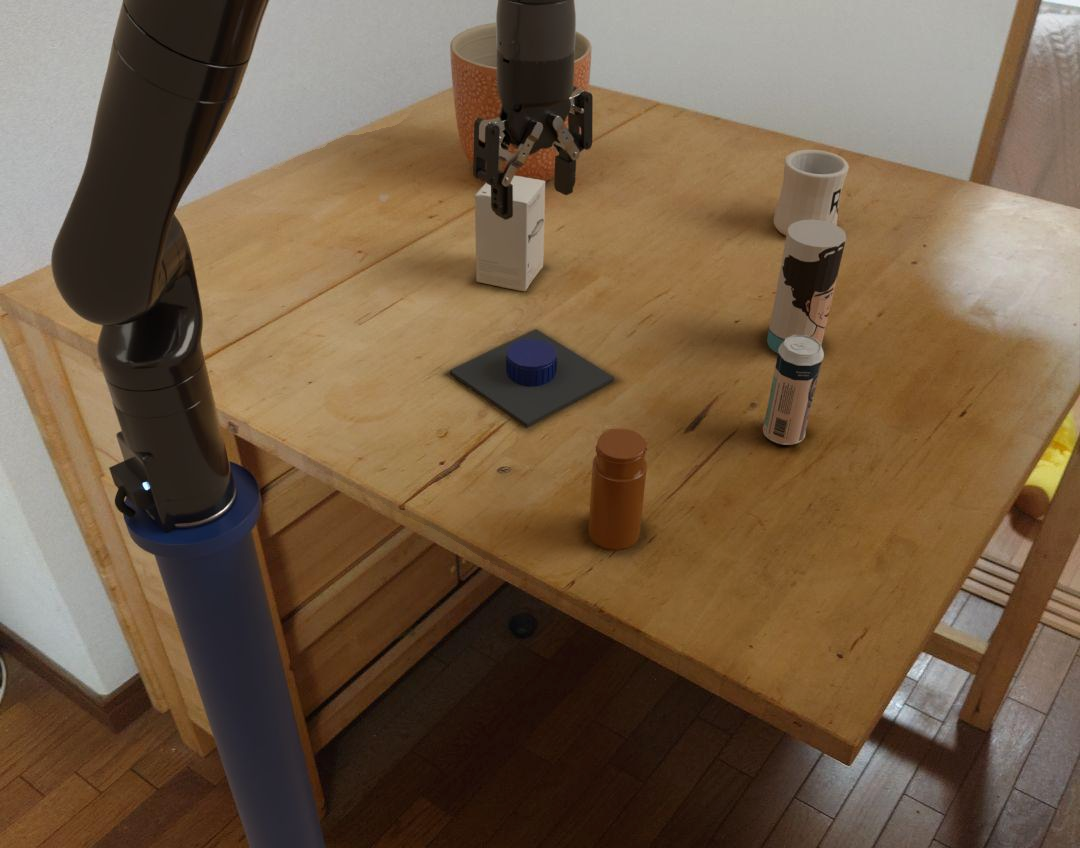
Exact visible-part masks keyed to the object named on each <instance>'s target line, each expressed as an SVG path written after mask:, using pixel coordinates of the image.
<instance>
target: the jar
mask: <svg viewBox="0 0 1080 848" xmlns="http://www.w3.org/2000/svg"><path fill="white" fill-rule="evenodd" d="M595 445H596V446H595V453H596V455H595V456H594V457H593V460H592V470H591V483H590V484H591V485H590V500H589V512H588V513H589V515H588V530H587V532H588V536H589V538H590V539H591V541H592V542H593V543H594V544H595V545H597V546H599V548H603V549H606V550H612V551H620V550H625V549H628V548H630V547H632V546H634V545H635V544H636V543H637V542H638V540H639V538H640V535H641V534H640V533H641V526H642V514H643V505H644V498H645V489H646V481H647V480H646V479H647V472H648V471H647V470H648V463H647V461H646V454H647V450H648V443H647V441H646V439H645V437H643V435H642V434H640V433H638V432H637V431H634V430H632V429H628V428H612V429H608V430H606V431H603V433H601V434H600V435H599V436H598V438H597V442H596V444H595Z"/></svg>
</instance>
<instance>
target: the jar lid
mask: <svg viewBox="0 0 1080 848" xmlns="http://www.w3.org/2000/svg"><path fill="white" fill-rule="evenodd" d="M556 370H557V357H556V350H555V348H554V347H553V346H552V345H551V344H549V343H547V342H545V341H542V340H536V339H526V340H521V341H518V342H515V343H513V344H512V345H511V346H510V347H509V348H508V350H507V356H506V371H507V375H508V377H509V378H510V379H511V380H512V381H513V382H515V383H517V384H520V385H523V386H540V385H544V384H546V383H548V382H550V381H551V380H552V379H553V378H554V377H555V375H556Z"/></svg>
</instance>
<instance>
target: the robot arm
mask: <svg viewBox="0 0 1080 848" xmlns="http://www.w3.org/2000/svg"><path fill="white" fill-rule="evenodd" d="M269 3H270V0H122V2H121V5H120V11H119V14H118V17H117V18H118V19H117V23H116V26H115V30H114V34H113V38H112V43H111V47H110V53H109V57H108V58H109V59H108V64H107V68H106V72H105V77H104V80H103V85H102V88H101V92H100V96H99V100H98V105H97V111H96V113H95V114H96V115H95V119H94V124H93V129H92V134H91V140H90V144H89V145H90V146H89V150H88V154H87V159H86V161H85V165H84V169H83V171H82V174H81V177H80V180H79V182H78V186H77V188H76V191H75V193H74V196H73V199H72V201H71V203H70V205H69V208H68V210H67V213H66V216H65V218H64V220H63V222H62V225H61V227H60V228H59V232H58V234H57V235H56V238H55V241H54V243H53V246H52V251H51V259H50V261H51V263H50V264H51V266H50V267H51V272H52V273H51V274H52V277H53V281H54V284H55V286H56V288H57V291H58V292H59V294H60V296H61V298H62V300H63V301H64V302H65V304H66V305H67V306H68V307H69V308H70V309H71V310H72V311H73V312H74V313H75V314H76V315H77V316H79V317H80V318H81V319H83V320H84V321H87V322H88V323H89V322H90V323H92V324H93V325H94V324H95V325H97V326H101V329H100V333H99V336H98V340H97V345H96V354H97V358H98V362H99V365H100V368H101V371H102V374H103V378H104V381H105V385H106V387H107V390H108V393H109V397H110V399H111V403H112V405H113V409H114V412H115V416H116V418H117V421H118V424H119V427H120V430H119V431H118V432H117V433H116V434H115V437H116V439H117V443H118V446H119V449H120V452H121V455H122V458H123V461H121V462H119V463H117V464H113V465H112V466H109V467H108V469H109V473H110V475H111V478H112V481H113V484H114V486H115V487H116V488H117V491H116V493H115V496H114V504H115V508H116V509H117V510H118V511H119V512H120V513H121V514H122V515H123V514H125V515H126V516H128V517H133V516H134V515H135V510H134V509H132V508H131V507H129V506H127V505H126V504H125V499H126V497H127V498H128V499H129V501H130V502H131V503H132V504H133V505H134V506H135V507H136V508H137V509H141V508H142V509H143V510H144V511H145V512H146V513H147V514H148V516H149V517H150V519H151V520H152V521H154V522H155V523H156V524H157V525H158V526H159V527H160V528H161V529H162V530H163V531H164V533H169V532H171V531H173V530H176V529H192V528H197V527H201V526H205V525H207V524H210V523H212V522H214V521H216V520H218V519H220V518H221V517H223V516H224V515H225V514H226V513H228V512H229V511H230V509H231V508H232V507H233V505H234V504H235V501H236V499H237V489H236V485H235V482H234V479H233V474H232V471H231V468H230V464H229V461H230V460H229V455H228V451H227V448H226V443H225V439H224V435H223V430H222V427H221V422H220V418H219V414H218V409H217V406H216V401H215V397H214V393H213V388H212V384H211V381H210V377H209V372H208V368H207V363H206V360H205V355H204V352H203V351H204V350H203V346H202V336H203V328H204V319H203V317H204V316H203V309H202V302H201V297H200V292H199V287H198V286H199V285H198V281H197V276H196V270H195V265H194V260H193V255H192V251H191V247H190V243H189V240H188V238H187V235H186V232H185V230H184V228H183V225H182V224H181V222H180V221H179V219H178V218H177V217H178V216H176V214H175V213H176V210H177V209H178V206H179V203H180V202H181V199H182V198H183V196H184V194H185V192H186V191H187V189H188V187H189V185H190V184H191V182H192V181H193V179H194V177H195V175H196V174H197V172H198V171H199V169H200V167H201V166H202V164H203V163H204V161H205V159H206V157H207V156H208V154H209V152H210V151H211V149H212V147H213V146H214V143H215V142H216V140H217V138H218V136H219V134H220V132H221V131H222V128H223V127H224V125H225V123H226V121H227V118H228V116H229V114H230V112H231V110H232V108H233V106H234V104H235V101H236V99H237V96H238V94H239V91H240V88H241V86H242V84H243V80H244V78H245V74H246V72H247V69H248V66H249V63H250V61H251V58H252V55H253V53H254V49H255V46H256V42H257V38H258V35H259V32H260V28H261V25H262V22H263V19H264V16H265V13H266V11H267V8H268V5H269ZM575 3H576V2H575V0H497V7H496V15H495V16H496V17H495V23H496V56H497V91H498V94H499V96H500V99H501V103H502V106H501V111H500V114H499V117H498V118H495V119H491V120H485V119H483V118H477V119H476V121H475V123H474V159H473V165H472V174H473V177H474V178H475V179H478V180H479V181H482V182H484V184H485V183H487V184H489V185H491V208H492V210H493V211H494V212H495V214H496V215H497V216H499V217H501V218H503V219H505V220H507V219H509V218H512V216H513V185H512V184H510V183H511V181H512V179H513V177H514V175H515V173H516V171H517V169H518V168H519V167H521V166H523V165H524V163H525V161H526V159H527V157H528V155H531V154H533V153H536V152H537V151H539V150H540V149H547V148H550V147H552V146H553V148H554V149H555V150H556V152H557V153H559V155H557V156H555V177H554V178H553V179H554V180H553V182H554V184H553V186H554V190H555V192H558V193H560V194H562V195H564V196H569V195H571V194H572V193H573V192H574V187H575V183H576V173H577V172H576V171H577V160H578V159H579V158H580V154H581V152H582V151H583V150H586V151H588V150H591V147H592V146H593V107H594V106H593V105H594V104H593V102H594V101H593V98H594V97H593V93H591V92H587V91H584V90H582V89H580V88H577V87H575V86H574V60H575V33H576V32H577V30H576V29H577V16H576V15H577V14H576V4H575ZM567 116H568V129H567V128H566V126H565V123H564V122H565V120H566V118H567ZM580 128H581V134H580ZM501 133H502V134H501ZM510 143H511V145H512V146H513V147H514V148H515V149H517V151H516V152H515V153H510V152H508V147H509V145H510ZM507 160H508V163H507V165H506V167H505V169H504V171H501V169H502V167H503V165H504V163H505V161H507ZM485 166H486V168H485Z"/></svg>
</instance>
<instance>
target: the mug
mask: <svg viewBox="0 0 1080 848" xmlns="http://www.w3.org/2000/svg"><path fill="white" fill-rule="evenodd" d="M783 165H784V167H783V179H782V186H781V190H780V195H779V197H778V202H777V204H776V208H775V212H774V214H773V215H774V216H773V226H774V227H775V229H776V230H777V231H778V232H779V233H780V234H782V235H783V236H785V237H786V236H787V231H788V228H789V226H790V225H791V224H793V223H795V222H797V221H801V220H821V221H826V222H830V223H832V224H835V225H837V224H838V215H839V206H840V200H841V197H842V196H841V195H842V190H843V187H844V184H845V181H846V178H847V175H848V173H849V169H850V168H849V163H848V162H847V160H846V159H844V158H843V157H842V156H840V155H838V154H836V153H834V152H830V151H826V150H820V149H802V150H796V151H793V152H790V153H789V154H788V155H787V156H785V158H784V164H783ZM837 226H838V225H837Z"/></svg>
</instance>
